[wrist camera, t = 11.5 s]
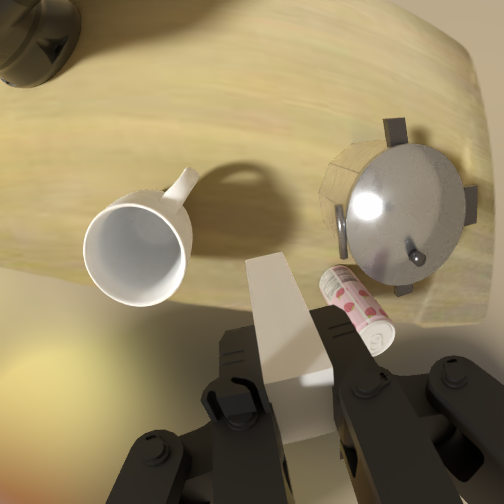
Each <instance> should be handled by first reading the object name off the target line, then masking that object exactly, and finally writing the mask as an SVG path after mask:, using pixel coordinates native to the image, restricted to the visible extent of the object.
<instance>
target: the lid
mask: <svg viewBox="0 0 504 504" xmlns="http://www.w3.org/2000/svg"><path fill="white" fill-rule="evenodd" d="M334 209H335V217H336V226H337V234H338V243H339V253H340V259H343V260H344V259H347V258H348V252H347V246H348V249H349V251H350V253H351V255H352V257H353V259H354V260H355V262H356V263H357V264H358V266H359V267H360V268H361V269H362V270H363V271H364V272H365V273H366V274H367V275H368V276H369V277H371V278H372V279H374V280H376V281H378V282H380V283H383V284H387V285H394V286H401V285H408V284H412V283H415V282H418V281H421V280H422V279H424V278H426V277H428V276H429V275H431V274H432V273H434V272H435V271H436V270H437V269H438V268H440V267H441V266H442V265H443V263H444V262H445V261H446V260H447V259H448V257H449V256H450V255H451V253H452V252H453V250H454V248H455V247H456V245H457V243H458V240H459V238H460V235H461V233H462V229H463V226H467V225H470V224H474V223H476V221H477V185H474V184H472V185H466V186H463V184H462V181H461V178H460V176H459V174H458V172H457V170H456V168H455V167H454V165H453V164H452V163H451V161H450V160H449V159H448V158H447V157H446V156H445V155H443V154H442V153H441V152H439V151H438V150H436V149H434V148H432V147H429V146H426V145H420V144H414V143H404V144H398V145H394V146H392V147H389V148H387V149H385V150H383V151H381V152H379V153H378V154H377V155H375V156H374V157H373V158H372V159H371V160H370V161H369V162H368V163H367V164H365V166H364V167H363V168H362V170H361V171H360V172H359V174H358V175H357V177H356V179H355V180H354V182H353V184H352V186H351V189H350V191H349V194H348V197H347V200H346V205H345V210H344V213H343V205H342V204H336V205H334Z"/></svg>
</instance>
